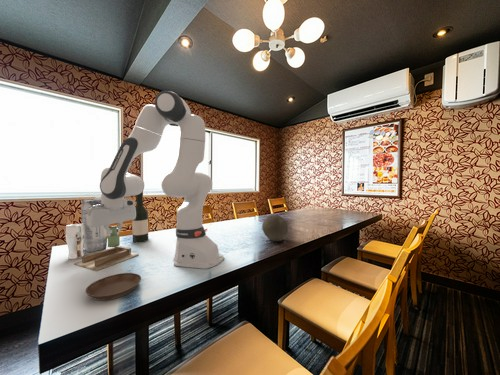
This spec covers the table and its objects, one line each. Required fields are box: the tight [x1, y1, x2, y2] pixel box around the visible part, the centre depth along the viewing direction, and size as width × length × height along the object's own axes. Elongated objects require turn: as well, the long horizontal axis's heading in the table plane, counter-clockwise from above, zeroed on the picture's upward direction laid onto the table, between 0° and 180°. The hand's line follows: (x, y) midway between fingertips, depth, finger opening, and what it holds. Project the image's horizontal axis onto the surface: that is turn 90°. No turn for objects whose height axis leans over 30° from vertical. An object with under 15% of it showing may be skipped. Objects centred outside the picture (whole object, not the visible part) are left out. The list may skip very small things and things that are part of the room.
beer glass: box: [65, 223, 86, 260], centre depth 93 cm, size 7×7×15 cm
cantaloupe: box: [261, 214, 289, 242], centre depth 115 cm, size 14×14×15 cm
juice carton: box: [80, 196, 108, 253], centre depth 104 cm, size 9×10×27 cm
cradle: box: [73, 245, 140, 272], centre depth 90 cm, size 16×18×4 cm
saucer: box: [85, 272, 142, 301], centre depth 65 cm, size 15×15×3 cm
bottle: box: [107, 225, 121, 248], centre depth 93 cm, size 4×4×9 cm
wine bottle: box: [131, 190, 149, 243], centre depth 119 cm, size 8×8×30 cm
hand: (113, 232), depth 93 cm, fingers closed on bottle, 2 cm apart
